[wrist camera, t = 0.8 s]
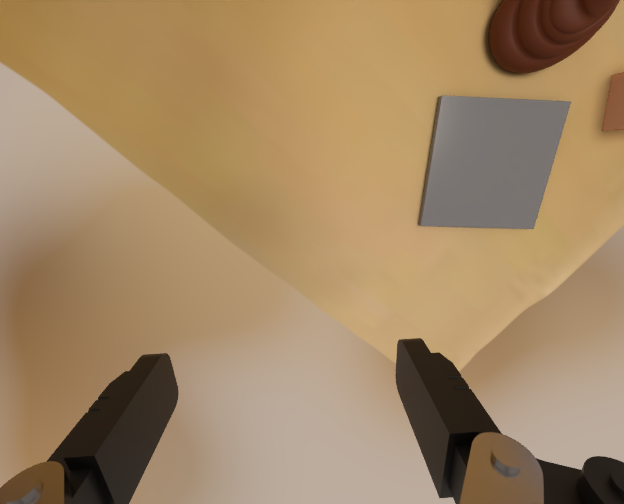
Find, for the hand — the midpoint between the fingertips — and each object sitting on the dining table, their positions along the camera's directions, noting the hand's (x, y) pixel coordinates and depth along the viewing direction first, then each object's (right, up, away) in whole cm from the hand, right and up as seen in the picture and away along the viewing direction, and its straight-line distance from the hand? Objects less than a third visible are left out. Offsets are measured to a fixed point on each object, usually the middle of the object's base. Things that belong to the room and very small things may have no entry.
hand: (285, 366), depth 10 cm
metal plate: (+21, +14, +24) cm, 35 cm away
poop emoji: (+23, +27, +19) cm, 41 cm away
